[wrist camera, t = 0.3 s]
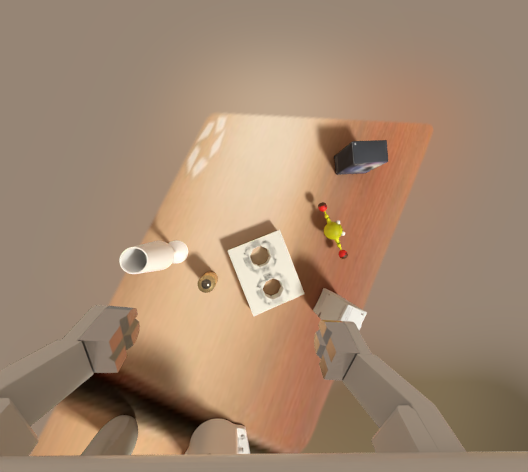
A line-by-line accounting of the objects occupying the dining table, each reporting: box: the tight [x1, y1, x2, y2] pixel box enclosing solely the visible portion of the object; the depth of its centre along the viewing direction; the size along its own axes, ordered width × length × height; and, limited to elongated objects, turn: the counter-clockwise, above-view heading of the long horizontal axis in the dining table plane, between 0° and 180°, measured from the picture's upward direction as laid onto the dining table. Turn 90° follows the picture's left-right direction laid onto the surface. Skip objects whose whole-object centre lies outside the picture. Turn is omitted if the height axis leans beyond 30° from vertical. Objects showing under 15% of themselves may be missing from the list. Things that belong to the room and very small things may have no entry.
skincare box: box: [313, 288, 367, 329], centre depth 57 cm, size 8×6×15 cm
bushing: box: [198, 271, 218, 293], centre depth 57 cm, size 4×4×7 cm
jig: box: [228, 230, 305, 316], centre depth 61 cm, size 20×16×4 cm
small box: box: [334, 140, 388, 175], centre depth 61 cm, size 11×6×10 cm, turn 95°
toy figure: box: [318, 202, 348, 259], centre depth 62 cm, size 18×6×7 cm, turn 24°
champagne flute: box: [120, 240, 188, 274], centre depth 48 cm, size 7×7×24 cm
